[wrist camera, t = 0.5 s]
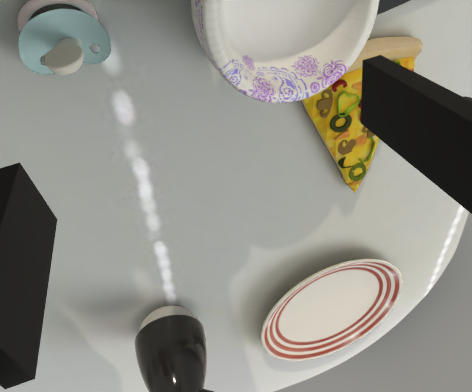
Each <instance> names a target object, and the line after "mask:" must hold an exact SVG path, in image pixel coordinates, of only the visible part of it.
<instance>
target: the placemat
mask: <svg viewBox="0 0 472 392" xmlns="http://www.w3.org/2000/svg"><path fill="white" fill-rule="evenodd" d="M408 1H410V0H379V6H378V11H377V15H378V14H380V13H382V12H385V11H387V10H389V9H391V8H394V7H396V6H398V5H401V4H403V3H405V2H408Z"/></svg>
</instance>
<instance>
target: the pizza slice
mask: <svg viewBox="0 0 472 392" xmlns="http://www.w3.org/2000/svg"><path fill="white" fill-rule="evenodd" d="M421 50H422V42H421V40H420V39H418V38H415V37H383V38H375V39H370V40H367V42H366V44H365V46H364V47H363V49H362V51H361V52H360V54H359V56H358V57H357V59H356V60H355V61H354V63H353V64H352V65H351V67H350V68H349V69H348V70H347V71H346V72H345V73H344V74H343V75H342V76H341V77H340V78H339V79H338V80H337V81H335V82H334V83H333V84H331V85H330V86H329V87H327V88H326V89H324V90H323V91H321V92H319V93H317V94H315V95H313V96H311V97H308V98H305V99H303V100H301V101H302V103H303V105H304V107H305V109H306V110H307V112H308V114H309V116H310V118H311V119H312V121H313V123H314V125H315V127H316V129H317V131H318V133H319V135H320V136H321V138H322V140H323V142H324V143H325V145H326V147H327V149H328V150H329V152H330V154H331V156H332V157H333V159H334V161H335V163H336V164H337V166H338V168H339V170H340V171H341V173H342V175H343V178H344V180H345V182H346V183H347V184H348V186H349V187H350V188H351V189H352V190H353V191H354V192H356V190H357V189H358V187H359V185H360V183H361V181H362V179H363V178H364V176H365V174H366V173H367V170H368V168H369V165H370V163H371V161H372V159H373V156H374V153H375V150H376V147H377V145H378V142H379V140H380V139H379V138H378V137H377V136H376V135H375V134H373V133H372V132H371V131H370V130H368V129H367V128H366V127H365V126H364V125H362V124H361V93H362V62H363V60H365V59H368V58H372V57H375V56H378V55H382V56H384V57H386V58H388V59H390V60H392V61H394V62H395V63H397V64H399V65H401V66H403V67H405V68H407V69H409V70H411V71H413V72H414V70H413V69H414V67H415V61H414V60H415V58H416V57H417V56H418V54H419V53H420V51H421Z"/></svg>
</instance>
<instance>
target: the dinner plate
mask: <svg viewBox="0 0 472 392" xmlns="http://www.w3.org/2000/svg"><path fill="white" fill-rule="evenodd" d="M402 286H403V280H402V275H401V273H400V271H399V270H398V269H397V268H396V267H395V266H394V265H393V264H391V263H389V262H387V261H383V260H378V259H358V260H351V261H346V262H342V263H339V264H336V265H333V266H330V267H328V268H325V269H323V270H321V271H319V272H317V273H315V274H313V275H311V276H309V277H308V278H306V279H305V280H303V281H301V282H300V283H299V284H297V285H296V286H295V287H293V288H292V289H291V290H290V291H288V292H287V293H286V294H285V295H284V296H283V297H282V298H281V299H280V300H279V301H278V302H277V303H276V304H275V306H274V307H273V308H272V310H271V311H270V313H269V314H268V316H267V318H266V320H265V322H264V324H263V327H262V331H261V342H262V345H263V348H264V349H265V351H266V352H267V353H268V354H269V355H271V356H272V357H274V358H277V359H280V360H284V361H305V360H311V359H315V358H319V357H323V356H326V355H329V354H331V353H334V352H337V351H339V350H341V349H343V348H345V347H347V346H349V345H351V344H353V343H354V342H356V341H358V340H359V339H361V338H362V337H364V336H365V335H367V334H368V333H369V332H371V331H372V330H373V329H374V328H375V327H377V326H378V325H379V324H380V323H381V322H382V321H383V320H384V319H385V318H386V317H387V315H388V314H389V313H390V312H391V310H392V309H393V308H394V306H395V305H396V303H397V301H398V299H399V297H400V295H401V291H402Z"/></svg>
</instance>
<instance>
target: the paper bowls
mask: <svg viewBox="0 0 472 392" xmlns="http://www.w3.org/2000/svg"><path fill="white" fill-rule="evenodd" d="M378 6H379V0H191V8H192V17H193V22H194V26H195V30H196V33H197V35H198V38H199V41H200V43H201V46H202V48H203V49H204V51H205V53H206V54H207V56H208V58H209V60H210V61H211V62H212V64H213V65H214V66H215V68H216V69H217V70H218V71H219V72H220V74H221V75H222V76H223V77H224V78H225V79H226V80H227V81H228V82H229V83H230V84H231V85H232V86H233V87H234V88H235V89H237V90H238V91H240V92H241V93H243V94H245V95H247V96H249V97H251V98H254V99H257V100H260V101H263V102H270V103H288V102H294V101H299V100H303V99H305V98H308V97H311V96H313V95H315V94H317V93H319V92H321V91H323V90H324V89H326V88H327V87H329V86H330V85H331V84H333V83H334V82H335V81H337V80H338V79H339V78H340V77H341V76H342V75H343V74H344V73H345V72H346V71H347V70H348V69H349V68H350V67H351V65H352V64H353V63H354V61H355V60H356V59H357V57H358V56H359V54H360V52H361V51H362V49H363V47H364V46H365V44H366V42H367V40H368V38H369V36H370V33H371V31H372V28H373V25H374V22H375V19H376V15H377V11H378Z"/></svg>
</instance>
